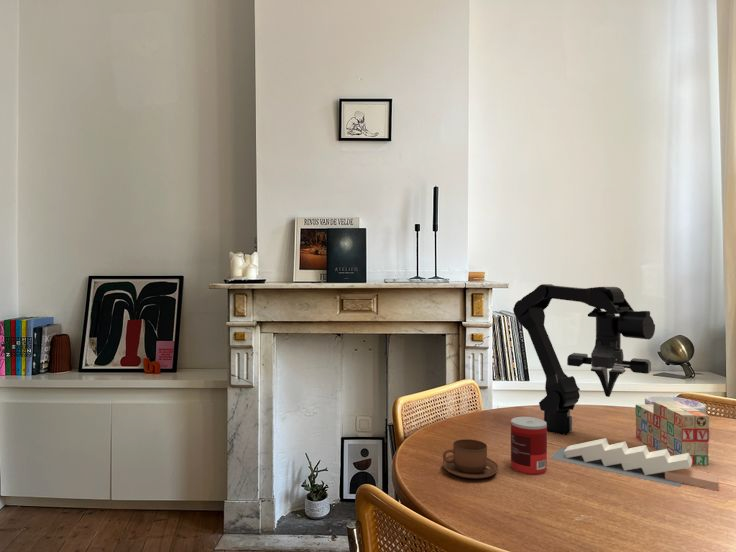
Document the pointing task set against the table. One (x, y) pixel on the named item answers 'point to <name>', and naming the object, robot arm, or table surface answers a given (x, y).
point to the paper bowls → (687, 402)
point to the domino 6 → (693, 478)
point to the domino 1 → (586, 448)
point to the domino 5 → (670, 464)
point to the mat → (613, 468)
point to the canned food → (529, 445)
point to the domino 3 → (628, 456)
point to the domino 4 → (648, 460)
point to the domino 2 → (607, 452)
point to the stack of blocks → (674, 429)
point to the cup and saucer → (469, 460)
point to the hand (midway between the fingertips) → (607, 396)
